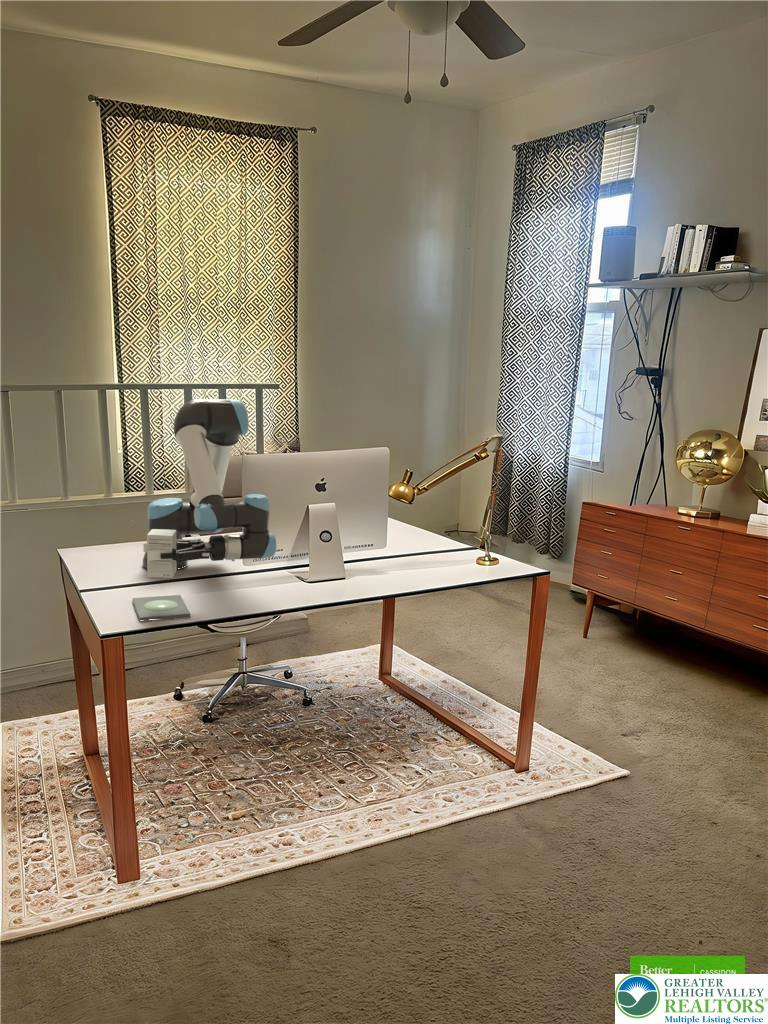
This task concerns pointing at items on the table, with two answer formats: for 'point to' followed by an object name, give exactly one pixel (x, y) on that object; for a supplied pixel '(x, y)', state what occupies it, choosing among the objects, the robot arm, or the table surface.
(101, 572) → the table surface
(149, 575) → the supplement box
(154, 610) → the charging pad
